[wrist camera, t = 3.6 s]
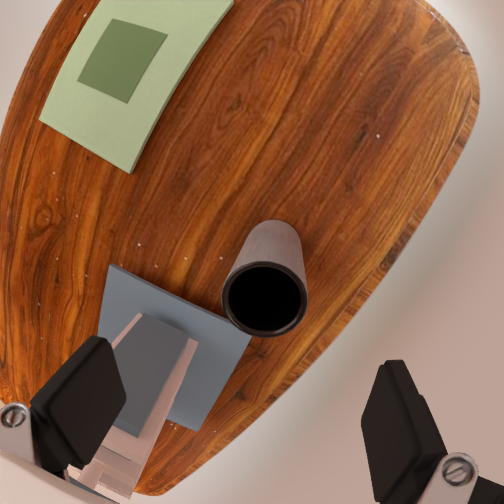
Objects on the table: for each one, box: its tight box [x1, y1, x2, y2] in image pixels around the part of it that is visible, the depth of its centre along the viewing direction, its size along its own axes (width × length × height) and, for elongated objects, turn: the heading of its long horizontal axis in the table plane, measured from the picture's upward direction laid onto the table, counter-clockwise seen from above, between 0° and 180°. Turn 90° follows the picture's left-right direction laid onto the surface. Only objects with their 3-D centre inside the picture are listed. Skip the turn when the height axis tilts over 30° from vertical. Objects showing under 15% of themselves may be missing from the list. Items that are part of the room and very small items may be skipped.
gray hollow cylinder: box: [221, 220, 308, 338], centre depth 20 cm, size 4×4×10 cm
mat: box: [39, 0, 234, 174], centre depth 21 cm, size 18×14×1 cm
